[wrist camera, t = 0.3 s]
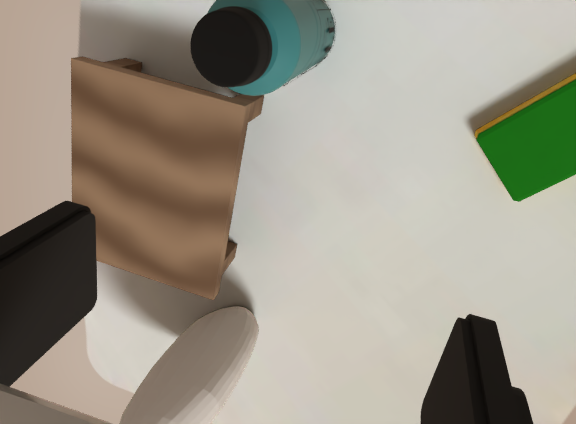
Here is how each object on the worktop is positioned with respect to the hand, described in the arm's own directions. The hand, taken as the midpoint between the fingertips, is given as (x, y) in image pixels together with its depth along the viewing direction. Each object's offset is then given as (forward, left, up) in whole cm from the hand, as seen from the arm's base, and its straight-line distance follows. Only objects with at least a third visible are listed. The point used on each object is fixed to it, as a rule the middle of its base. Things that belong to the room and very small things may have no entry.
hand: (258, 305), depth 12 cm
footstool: (+13, -17, -34) cm, 41 cm away
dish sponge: (-1, +17, -35) cm, 39 cm away
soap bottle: (+33, -9, -35) cm, 49 cm away
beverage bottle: (-3, -7, -35) cm, 36 cm away
